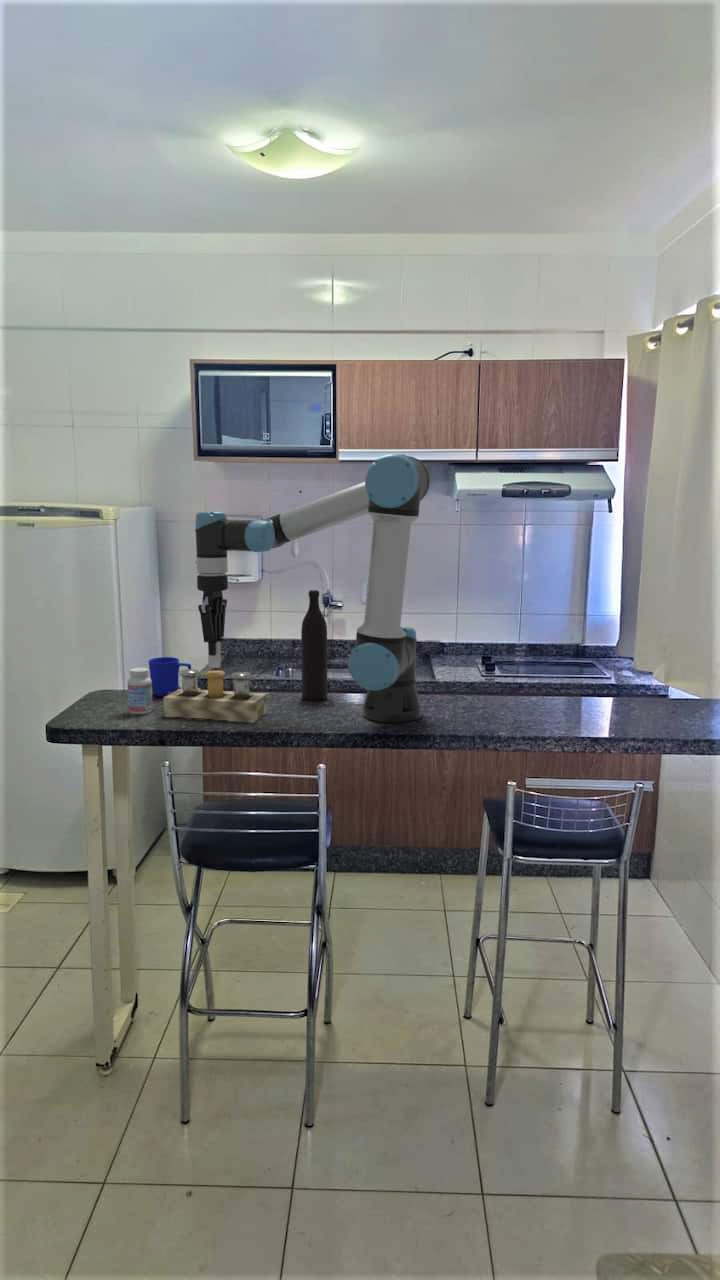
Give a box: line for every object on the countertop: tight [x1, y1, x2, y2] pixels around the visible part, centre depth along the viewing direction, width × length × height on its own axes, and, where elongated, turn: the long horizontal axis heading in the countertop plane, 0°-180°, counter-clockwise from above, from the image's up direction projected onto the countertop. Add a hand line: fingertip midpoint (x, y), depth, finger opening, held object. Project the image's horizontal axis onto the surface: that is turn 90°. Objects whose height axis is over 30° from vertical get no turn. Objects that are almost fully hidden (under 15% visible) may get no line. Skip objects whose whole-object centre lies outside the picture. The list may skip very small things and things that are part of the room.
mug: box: [148, 656, 192, 698], centre depth 223 cm, size 8×12×10 cm
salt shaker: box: [179, 668, 200, 697], centre depth 205 cm, size 5×5×7 cm
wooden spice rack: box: [162, 687, 268, 724], centre depth 204 cm, size 24×10×5 cm, turn 78°
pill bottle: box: [126, 667, 154, 715], centre depth 206 cm, size 6×6×11 cm
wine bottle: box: [300, 589, 328, 702], centre depth 219 cm, size 7×7×30 cm
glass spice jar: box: [230, 671, 252, 700], centre depth 202 cm, size 5×5×7 cm
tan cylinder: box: [204, 670, 226, 698], centre depth 203 cm, size 5×5×7 cm
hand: (214, 667), depth 202 cm, fingers closed
